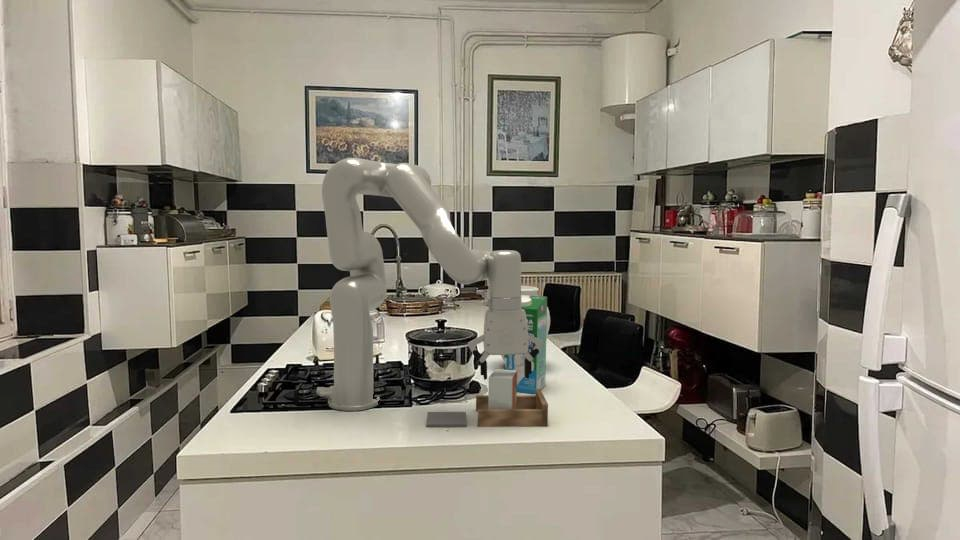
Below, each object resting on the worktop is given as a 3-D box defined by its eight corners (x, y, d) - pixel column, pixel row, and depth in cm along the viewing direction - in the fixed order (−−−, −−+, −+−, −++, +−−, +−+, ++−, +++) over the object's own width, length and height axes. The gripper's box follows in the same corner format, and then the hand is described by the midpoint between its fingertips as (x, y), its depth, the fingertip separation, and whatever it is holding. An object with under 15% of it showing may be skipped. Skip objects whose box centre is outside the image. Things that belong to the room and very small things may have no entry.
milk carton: (503, 390, 173) (504, 298, 170) (514, 382, 181) (515, 294, 179) (535, 394, 169) (537, 300, 167) (545, 385, 178) (547, 296, 175)
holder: (477, 426, 143) (478, 404, 143) (475, 409, 156) (476, 389, 155) (547, 426, 144) (547, 404, 144) (540, 409, 156) (540, 389, 156)
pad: (426, 427, 143) (426, 424, 143) (427, 414, 152) (427, 411, 152) (466, 426, 143) (466, 424, 143) (465, 414, 152) (465, 411, 152)
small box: (511, 424, 145) (512, 378, 144) (487, 422, 147) (488, 376, 146) (517, 413, 153) (517, 369, 152) (493, 411, 154) (494, 368, 153)
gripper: (467, 307, 143) (469, 382, 145) (544, 305, 144) (545, 380, 145) (466, 302, 151) (468, 374, 152) (540, 301, 152) (541, 372, 153)
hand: (506, 377), depth 149 cm, fingers open, 9 cm apart
